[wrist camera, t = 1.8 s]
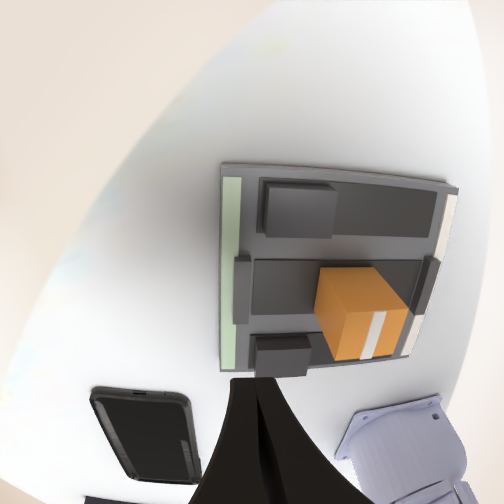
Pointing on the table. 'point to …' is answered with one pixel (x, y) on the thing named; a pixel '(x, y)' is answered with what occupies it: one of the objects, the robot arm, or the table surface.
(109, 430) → the phone
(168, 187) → the table surface
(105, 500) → the red and black box
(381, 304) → the handle
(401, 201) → the panel
